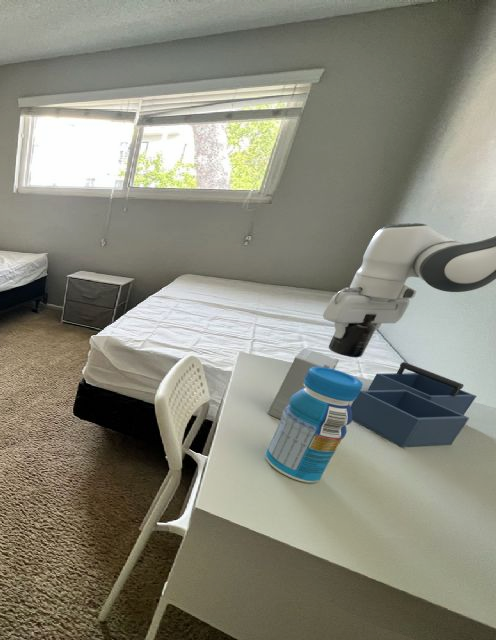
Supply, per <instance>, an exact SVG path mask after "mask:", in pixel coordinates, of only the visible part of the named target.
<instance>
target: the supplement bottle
mask: <svg viewBox="0 0 496 640" xmlns="http://www.w3.org/2000/svg"><path fill="white" fill-rule="evenodd" d="M375 317H376V314H366V315H365V317H364V319H363V321H364V322H363V323H349V324H348V326H347V327H345V332H347V335H346V337H345V338H337V337H335V336H334V334H333V335H332V338H331V340H330V342H329V344H328V350H330V351H331V352H333V353H335V354H338V355H340V356H344V357H348V358H361V357H363V355H364V353H365V351H366V349H367V347H368V346H369V344H370V342H371V339H372V337H373V336H374V333H375V332H376V331H375V329H376V327H375V325H374V324H373V323H372V322H373V321H374V320H375Z"/></svg>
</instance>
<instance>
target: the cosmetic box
mask: <svg viewBox="0 0 496 640" xmlns="http://www.w3.org/2000/svg"><path fill="white" fill-rule="evenodd" d="M339 362H340V360H339V358H335V357H332V356H329V355H327V354H323V353H320V352H318V351H315V350H312V349H309V348H303V349H301V350H300V351H299V352H298V354H296V356H295V357H294V359H293V362H292V364H291V365H290V367H289V370H288V371H287V373H286V376H285V377H284V379H283V381H282V384H281V385H280V387H279V390H278V391H277V393H276V395H275V397H274V399H273V401H272V403H271V404H270V407H269V408H268V411H267V414H268V415H270V416H272V417H273V418H275V419H276V418H277V419H279V420H281V418H282V414H283V411H284V409H285V408H286V407H287V406H288V405H290V402H289V400H290V398H291V396H292V395H293V394H295V393H296V392H298V391H299V390H301V389H303V388H306V387H305V386H304V380H305V377H306V375H307V373H308V371H309V370H310V368H312V367H325V368H330V369H334V370H336V368H337V366H338V364H339Z"/></svg>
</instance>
